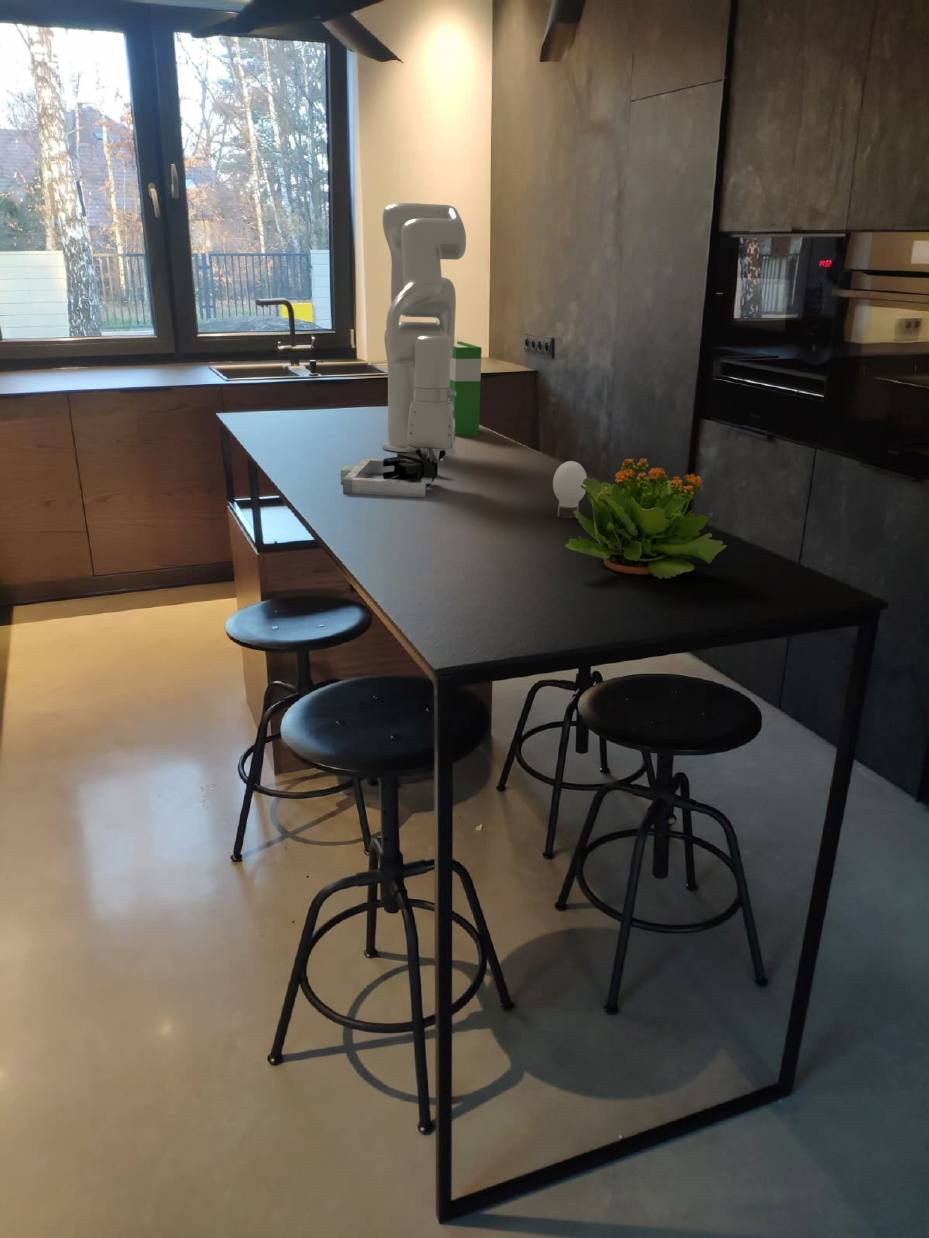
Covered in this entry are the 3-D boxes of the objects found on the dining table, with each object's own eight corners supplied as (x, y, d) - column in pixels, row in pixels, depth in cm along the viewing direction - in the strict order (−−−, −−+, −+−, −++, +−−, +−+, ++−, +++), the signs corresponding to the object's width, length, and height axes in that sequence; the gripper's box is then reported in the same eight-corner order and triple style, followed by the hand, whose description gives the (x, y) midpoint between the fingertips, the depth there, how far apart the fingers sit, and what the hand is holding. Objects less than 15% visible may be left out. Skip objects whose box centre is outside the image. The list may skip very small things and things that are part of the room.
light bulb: (557, 521, 184) (561, 465, 180) (546, 512, 190) (549, 458, 186) (590, 519, 185) (594, 464, 181) (577, 511, 191) (581, 457, 187)
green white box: (434, 425, 280) (436, 341, 272) (458, 424, 283) (460, 341, 274) (454, 436, 265) (456, 347, 256) (478, 435, 267) (481, 347, 259)
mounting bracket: (353, 470, 220) (353, 454, 219) (443, 474, 219) (443, 458, 217) (331, 492, 200) (331, 474, 199) (430, 497, 198) (430, 480, 197)
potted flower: (586, 594, 145) (595, 482, 139) (533, 549, 166) (539, 450, 160) (730, 583, 152) (745, 476, 145) (661, 541, 173) (671, 446, 167)
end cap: (435, 490, 204) (435, 459, 202) (408, 494, 200) (408, 463, 198) (408, 481, 212) (408, 451, 209) (382, 485, 207) (381, 455, 205)
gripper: (468, 394, 205) (465, 477, 212) (399, 391, 206) (399, 474, 213) (465, 399, 198) (462, 485, 205) (394, 396, 199) (394, 481, 206)
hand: (430, 479), depth 209 cm, fingers closed
